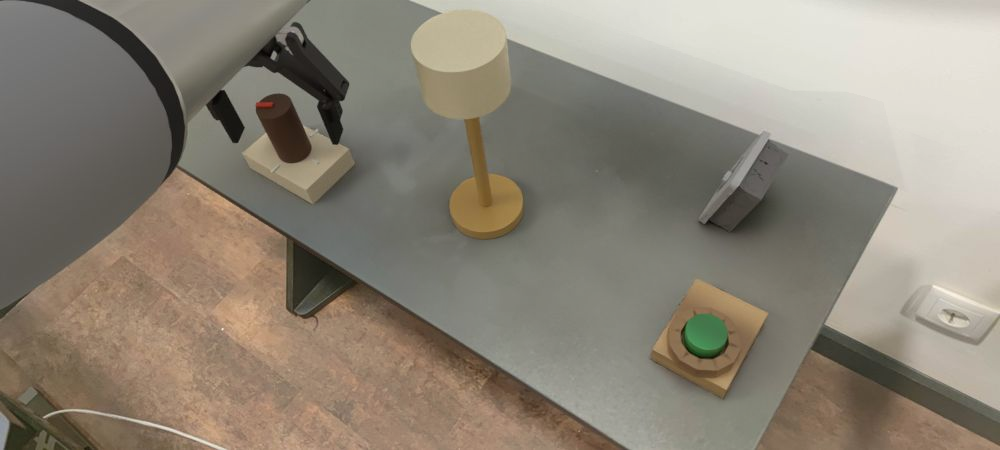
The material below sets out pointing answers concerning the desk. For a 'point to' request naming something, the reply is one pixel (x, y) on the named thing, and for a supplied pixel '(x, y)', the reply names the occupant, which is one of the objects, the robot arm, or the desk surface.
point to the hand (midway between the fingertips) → (288, 136)
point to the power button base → (741, 336)
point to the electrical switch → (745, 183)
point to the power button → (705, 335)
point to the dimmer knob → (283, 127)
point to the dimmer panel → (302, 165)
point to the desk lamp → (470, 109)
